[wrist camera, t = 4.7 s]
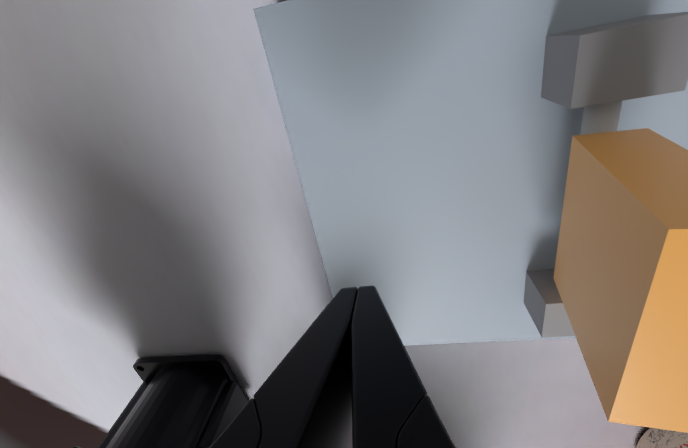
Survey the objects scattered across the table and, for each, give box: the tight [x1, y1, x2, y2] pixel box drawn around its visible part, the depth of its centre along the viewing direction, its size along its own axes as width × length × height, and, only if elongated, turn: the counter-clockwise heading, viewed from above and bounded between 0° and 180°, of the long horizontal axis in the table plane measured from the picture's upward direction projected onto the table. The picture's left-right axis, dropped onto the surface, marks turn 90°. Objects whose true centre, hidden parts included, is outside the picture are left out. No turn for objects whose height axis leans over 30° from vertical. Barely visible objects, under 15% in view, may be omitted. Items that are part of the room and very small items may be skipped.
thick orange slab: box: [553, 128, 688, 433], centre depth 8 cm, size 2×5×5 cm, turn 12°
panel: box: [254, 0, 688, 346], centre depth 11 cm, size 18×14×4 cm
